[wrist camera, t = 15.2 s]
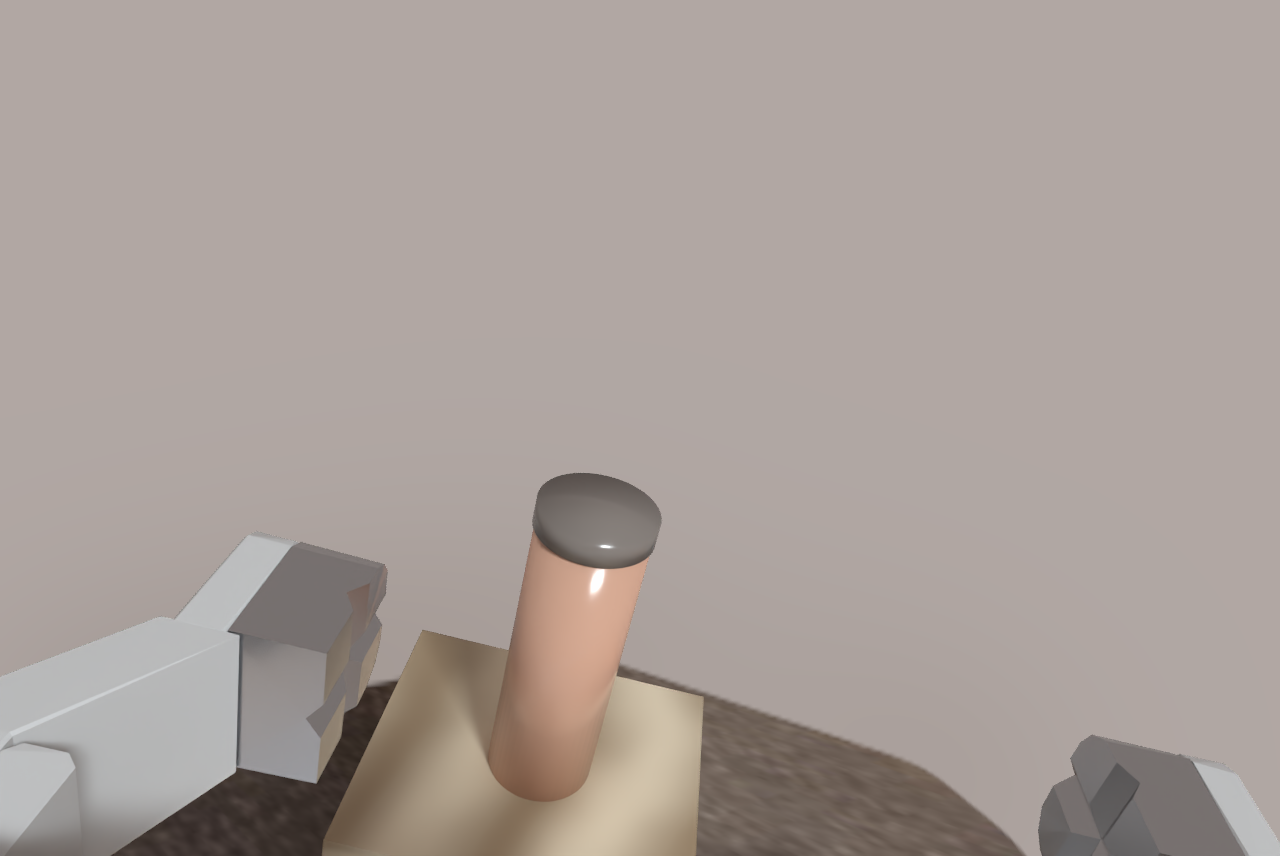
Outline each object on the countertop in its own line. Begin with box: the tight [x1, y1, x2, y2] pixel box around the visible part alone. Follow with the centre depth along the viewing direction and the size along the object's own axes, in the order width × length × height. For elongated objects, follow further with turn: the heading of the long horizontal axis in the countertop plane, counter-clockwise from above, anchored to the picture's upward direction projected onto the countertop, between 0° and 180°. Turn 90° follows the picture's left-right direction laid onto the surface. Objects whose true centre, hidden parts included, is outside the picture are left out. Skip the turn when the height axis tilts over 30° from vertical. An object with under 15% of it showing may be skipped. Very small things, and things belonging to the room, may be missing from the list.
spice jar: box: [488, 473, 661, 802], centre depth 36 cm, size 5×5×13 cm
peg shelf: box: [322, 630, 703, 856], centre depth 42 cm, size 14×12×10 cm
